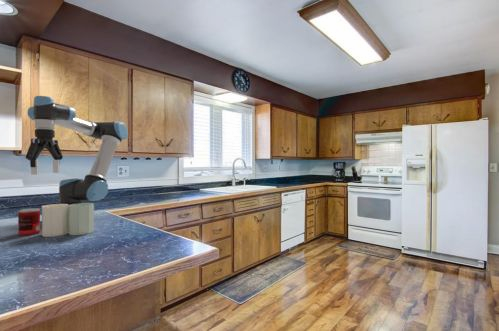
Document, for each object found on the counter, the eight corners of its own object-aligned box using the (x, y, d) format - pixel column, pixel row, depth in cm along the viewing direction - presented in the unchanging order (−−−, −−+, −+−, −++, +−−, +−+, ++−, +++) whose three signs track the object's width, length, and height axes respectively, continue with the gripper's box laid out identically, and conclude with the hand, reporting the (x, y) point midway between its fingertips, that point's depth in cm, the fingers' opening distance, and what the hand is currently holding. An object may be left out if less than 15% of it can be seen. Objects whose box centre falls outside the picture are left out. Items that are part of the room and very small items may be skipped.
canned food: (37, 230, 127) (37, 207, 127) (42, 233, 121) (42, 209, 121) (16, 233, 121) (16, 209, 121) (20, 237, 116) (20, 211, 116)
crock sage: (78, 229, 128) (78, 203, 128) (97, 230, 127) (97, 203, 127) (63, 235, 118) (63, 206, 118) (84, 235, 118) (84, 206, 118)
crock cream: (53, 231, 125) (53, 203, 125) (73, 231, 125) (73, 203, 125) (36, 236, 116) (36, 207, 116) (57, 237, 115) (57, 207, 115)
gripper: (55, 131, 139) (56, 172, 140) (13, 126, 114) (15, 175, 115) (70, 131, 139) (71, 171, 140) (31, 126, 114) (33, 175, 115)
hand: (46, 173), depth 127 cm, fingers open, 13 cm apart
